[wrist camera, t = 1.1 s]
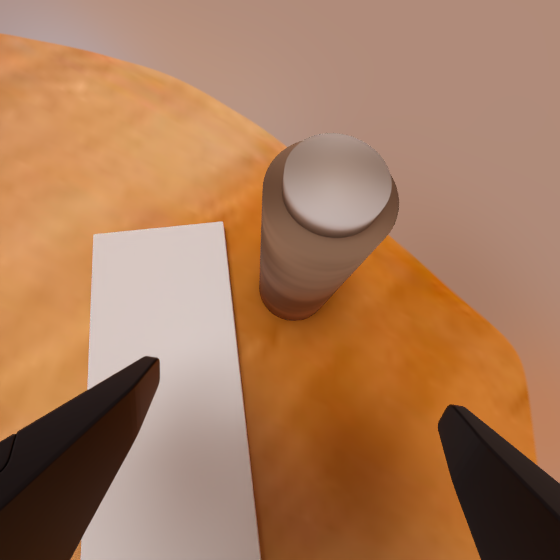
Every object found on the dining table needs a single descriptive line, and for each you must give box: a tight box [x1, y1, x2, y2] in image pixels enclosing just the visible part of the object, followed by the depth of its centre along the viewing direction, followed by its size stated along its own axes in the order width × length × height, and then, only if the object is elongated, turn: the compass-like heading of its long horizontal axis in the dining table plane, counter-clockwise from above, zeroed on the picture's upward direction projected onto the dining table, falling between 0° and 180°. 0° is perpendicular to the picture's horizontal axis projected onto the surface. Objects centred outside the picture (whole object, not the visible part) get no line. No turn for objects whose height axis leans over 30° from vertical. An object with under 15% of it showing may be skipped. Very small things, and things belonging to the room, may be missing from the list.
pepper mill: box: [259, 133, 399, 321], centre depth 17 cm, size 6×6×14 cm
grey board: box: [81, 222, 261, 560], centre depth 20 cm, size 24×10×1 cm, turn 9°
